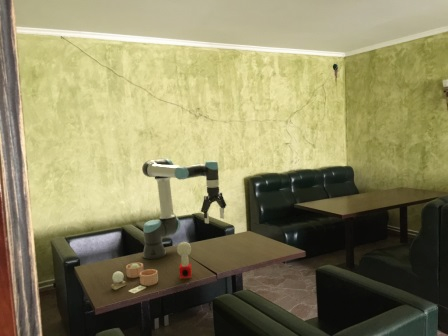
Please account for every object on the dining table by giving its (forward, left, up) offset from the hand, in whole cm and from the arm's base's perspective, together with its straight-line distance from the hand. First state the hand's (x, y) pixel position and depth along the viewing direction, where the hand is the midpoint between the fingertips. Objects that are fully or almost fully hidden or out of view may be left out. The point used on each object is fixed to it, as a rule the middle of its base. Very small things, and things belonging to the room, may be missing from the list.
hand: (214, 220), depth 226 cm
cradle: (-25, -55, -27) cm, 66 cm away
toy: (-3, -25, -27) cm, 37 cm away
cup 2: (-15, -42, -27) cm, 52 cm away
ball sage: (-31, -39, -24) cm, 55 cm away
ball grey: (-25, -55, -22) cm, 64 cm away
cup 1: (-31, -39, -27) cm, 57 cm away
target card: (-13, -52, -27) cm, 60 cm away
